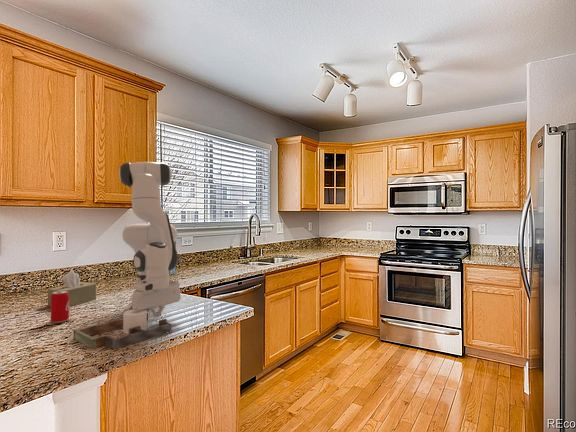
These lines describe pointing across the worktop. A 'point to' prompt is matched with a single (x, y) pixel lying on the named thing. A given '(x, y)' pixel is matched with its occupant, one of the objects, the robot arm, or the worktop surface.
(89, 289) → the tissue box
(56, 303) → the beverage can
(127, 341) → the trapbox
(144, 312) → the toilet paper
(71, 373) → the worktop surface
